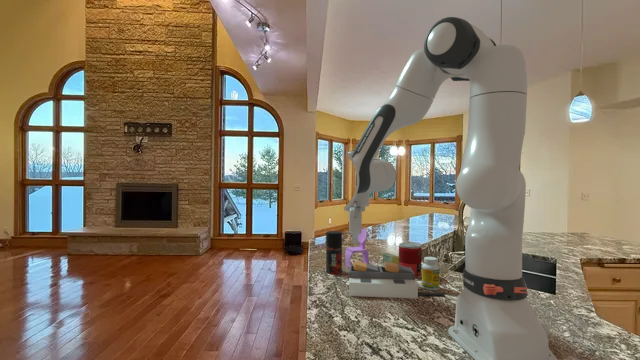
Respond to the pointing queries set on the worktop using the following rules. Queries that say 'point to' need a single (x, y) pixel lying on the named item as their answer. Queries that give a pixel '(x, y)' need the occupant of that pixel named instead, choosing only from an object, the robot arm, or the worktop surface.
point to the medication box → (390, 258)
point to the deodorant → (333, 252)
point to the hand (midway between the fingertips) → (354, 242)
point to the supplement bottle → (430, 274)
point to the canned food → (410, 257)
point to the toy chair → (358, 249)
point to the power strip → (385, 284)
